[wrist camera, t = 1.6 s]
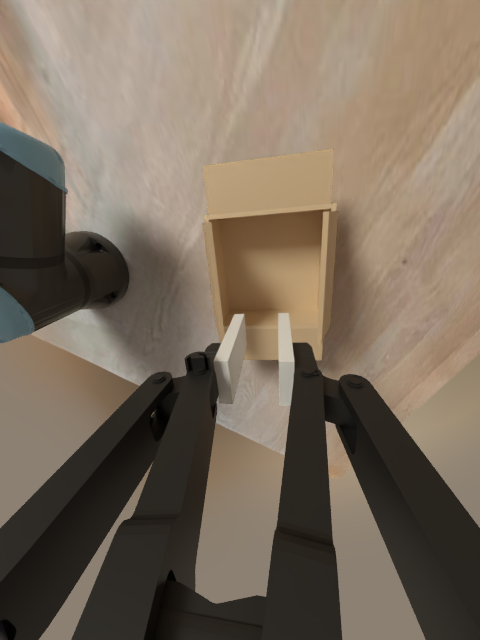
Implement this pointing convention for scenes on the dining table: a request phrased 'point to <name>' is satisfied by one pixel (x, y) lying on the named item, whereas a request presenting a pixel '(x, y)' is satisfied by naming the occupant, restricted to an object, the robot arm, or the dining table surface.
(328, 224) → the flap
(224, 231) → the carton
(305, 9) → the dining table surface
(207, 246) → the flap
